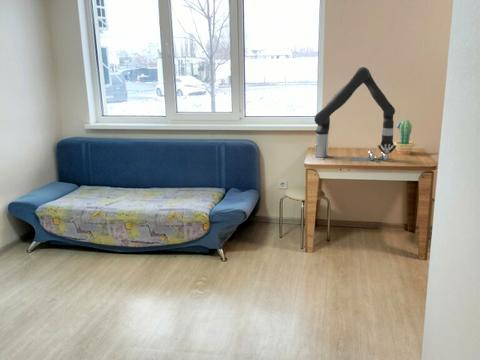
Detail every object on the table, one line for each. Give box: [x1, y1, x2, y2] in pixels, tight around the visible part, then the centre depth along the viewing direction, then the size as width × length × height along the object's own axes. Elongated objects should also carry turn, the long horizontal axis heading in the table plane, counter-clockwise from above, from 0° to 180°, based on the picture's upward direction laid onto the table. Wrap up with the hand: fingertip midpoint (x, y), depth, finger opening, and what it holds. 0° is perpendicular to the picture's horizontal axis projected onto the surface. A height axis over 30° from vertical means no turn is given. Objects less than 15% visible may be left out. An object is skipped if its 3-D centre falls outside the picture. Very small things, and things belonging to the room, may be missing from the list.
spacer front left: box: [369, 152, 375, 162], centre depth 314 cm, size 3×3×5 cm
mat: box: [349, 156, 388, 162], centre depth 319 cm, size 25×12×1 cm, turn 81°
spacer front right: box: [382, 152, 389, 162], centre depth 313 cm, size 3×3×5 cm
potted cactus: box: [393, 119, 416, 155], centre depth 334 cm, size 15×15×25 cm
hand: (386, 158), depth 317 cm, fingers closed
